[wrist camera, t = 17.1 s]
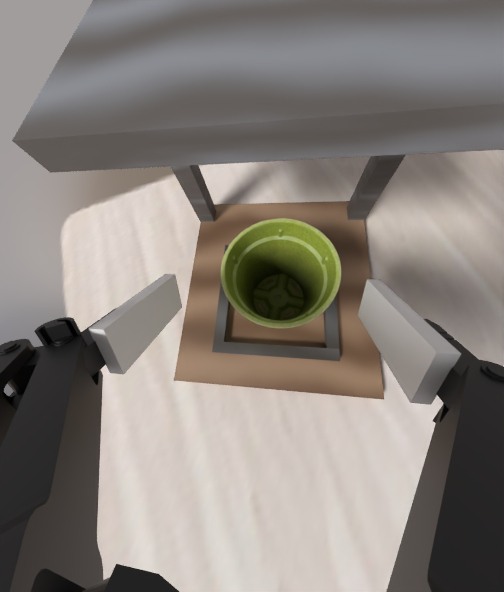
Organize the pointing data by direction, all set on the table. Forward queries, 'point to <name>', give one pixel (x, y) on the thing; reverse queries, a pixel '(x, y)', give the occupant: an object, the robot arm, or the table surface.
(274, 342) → the roofed stand
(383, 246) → the table surface
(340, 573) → the table surface
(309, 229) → the plant pot
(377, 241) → the table surface
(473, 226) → the table surface
